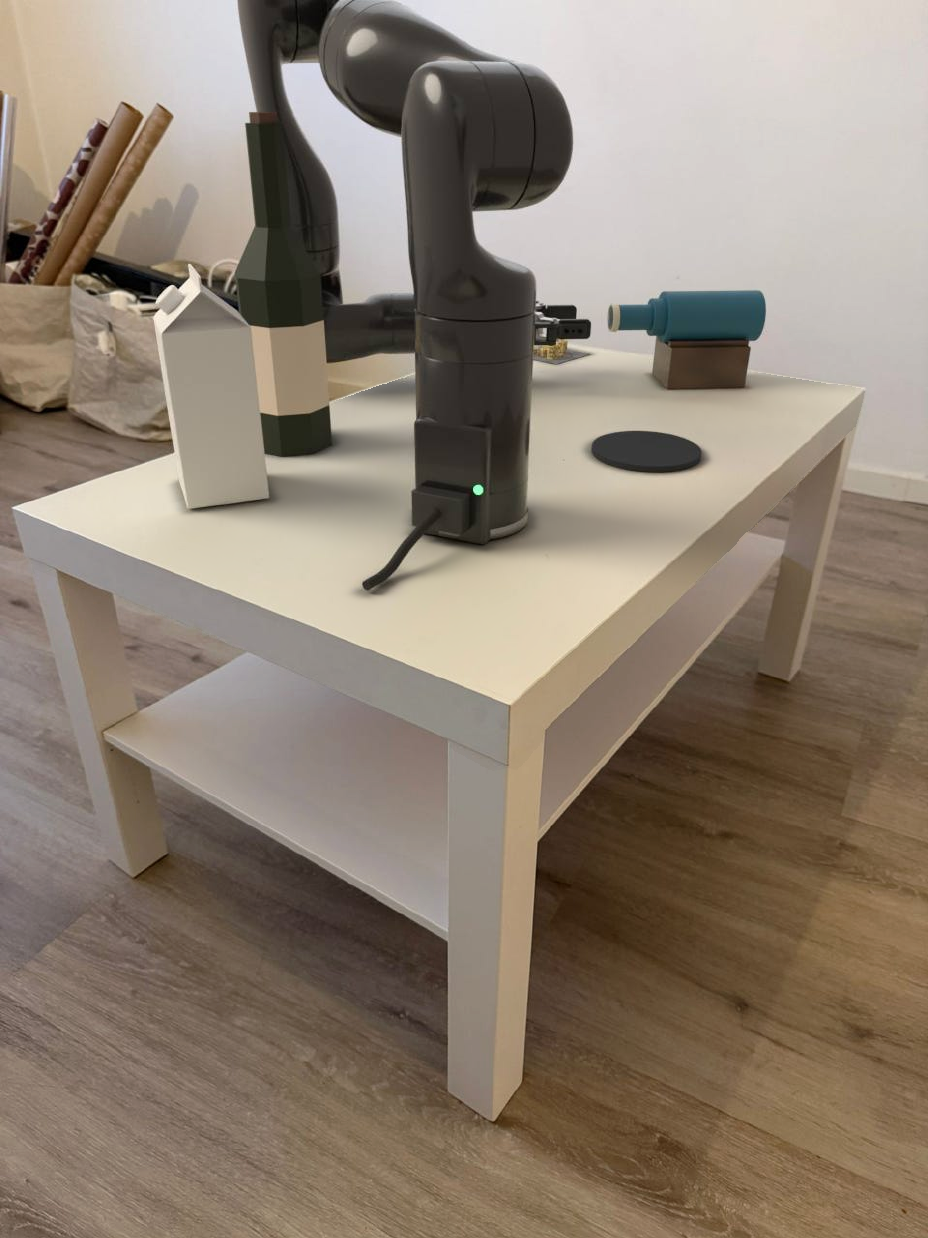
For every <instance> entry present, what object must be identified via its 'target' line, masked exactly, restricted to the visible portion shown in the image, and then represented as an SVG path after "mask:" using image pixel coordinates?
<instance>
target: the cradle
mask: <svg viewBox="0 0 928 1238" xmlns="http://www.w3.org/2000/svg"><path fill="white" fill-rule="evenodd" d="M749 344H750V341H749V340H747V339H729V340H669V341H668V342H662V343H661V342H659V341H658V339H657V336H655V342H654V352H653V361H652V372H651V375H652V376H653V377H654V378H655V379H656V380H657V381H658V382H659V383H660V384H661V385H662V386H664V388H666V389H667V390H687V389H688V390H689V389H693V390H694V389H736V388H737V389H741V388H742V389H743V388H745V387H746V380H747V376H748V370H749V369H748V368H749V362H750V356H751V351H752V347H751V346H750V345H749Z"/></svg>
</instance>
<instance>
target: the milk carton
mask: <svg viewBox="0 0 928 1238" xmlns="http://www.w3.org/2000/svg"><path fill="white" fill-rule="evenodd" d="M187 268H188V274H189V277H188V278H187V280H186V281H184V283H183V284H182V285H181V286H180V287H179V288H177V286H176V285H174V284H172V285H169V286H168V287H166V288H165V289H164V290H163V291H162V292H161V294H159V296H158V297H157V299H156V300H155V305H156V307H158V308H159V309H158V310H157V312H155V314H154V315H153V325H154V331H155V337H156V339H155V340H156V344H157V350H158V356H159V363H160V369H161V377H162V382H163V387H164V388H163V389H164V394H165V401H166V408H167V414H168V419H169V425H170V433H171V438H172V444H173V445H172V446H173V451H174V457H175V463H176V470H177V476H178V481H179V486H180V489H181V493H182V495H183V499H184V502H185V506H186V508H187V509H198V508H205V507H214V506H221V505H222V506H223V505H228V504H229V505H230V504H238V503H243V502H244V503H245V502H252V501H260V500H266V499H269V498H270V491H269V481H268V475H267V464H266V455H265V454H266V453H264V444H263V435H262V426H261V416H260V407H259V398H258V388H257V379H256V370H255V361H254V351H253V342H252V333H251V327H250V326H249V324H248V323H247V322H246V321H245V320H244V318H243V317H242V316H241V315H240V314H239V310H237V309H236V308H234V307H233V306H232V305H230V304H229V303H228V302H227V301H225V300H224V299H222V298H221V297H219V296H218V295H217V294H215V293H214V292H212V290H210V289H208V288H207V287H206V286H204V285H203V283H202V277H201V275H200V274H199V273H198V272H197V270H196V269H195V267H193V265H192V264H191V263H187Z"/></svg>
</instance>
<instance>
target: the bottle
mask: <svg viewBox="0 0 928 1238" xmlns="http://www.w3.org/2000/svg"><path fill="white" fill-rule="evenodd" d="M765 298H766V297H765V296H764V294H763V292H762V291H761V290H757V289H753V290H752V289H750V290H748V289H747V290H666V291H665V290H664V291H662V292H661V293H660V294H659V296H658V297H656V298H653V297H652V298H650V299H649V300H648V301H647V304H619V303H610V304H609V306H608V309H607V316H606V317H607V318H606V322H607V323H606V324H607V330H608V331H609V332H610V333H616V332H618V331H645V332H646V334H647V336H649V337H656V336H657V339H658V341H659V342H661V343H662V342H668V341H669V340H729V339H747V340H749V342H755V341H757V340H758V339H759V338H760V337H761V336H762V333H763V330H764V328H765V324H766V317H767V316H766V315H767V306H766V305H767V304H766V299H765Z"/></svg>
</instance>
